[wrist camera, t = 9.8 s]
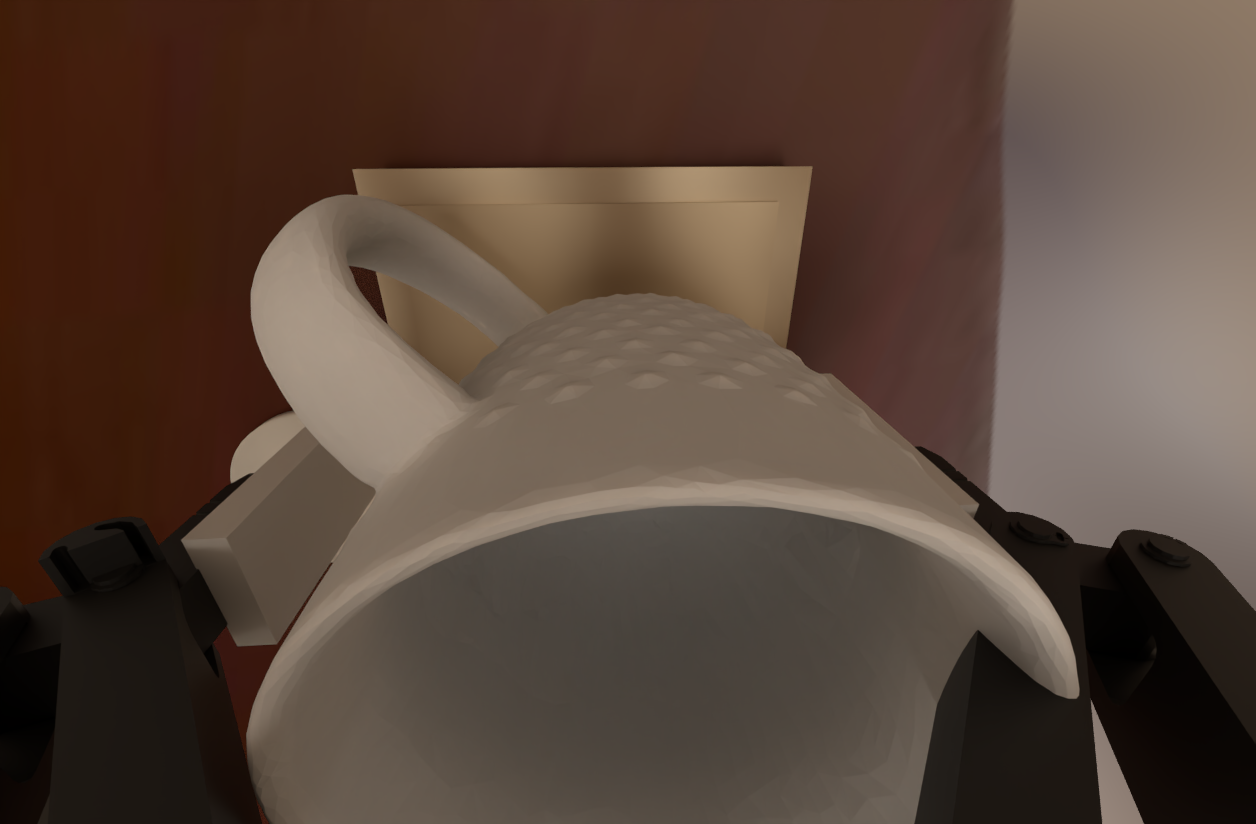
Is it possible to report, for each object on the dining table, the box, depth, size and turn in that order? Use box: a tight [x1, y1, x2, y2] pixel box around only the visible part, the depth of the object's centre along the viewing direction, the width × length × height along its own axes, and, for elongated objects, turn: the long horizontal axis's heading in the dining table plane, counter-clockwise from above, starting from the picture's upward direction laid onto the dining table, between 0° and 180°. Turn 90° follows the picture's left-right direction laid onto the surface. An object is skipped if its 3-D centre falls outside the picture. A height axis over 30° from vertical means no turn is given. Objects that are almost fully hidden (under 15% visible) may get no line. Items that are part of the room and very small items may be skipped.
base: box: [352, 166, 813, 385], centre depth 19 cm, size 14×14×3 cm
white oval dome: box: [230, 410, 376, 563], centre depth 22 cm, size 8×8×1 cm
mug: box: [246, 195, 1080, 824], centre depth 12 cm, size 15×11×13 cm
